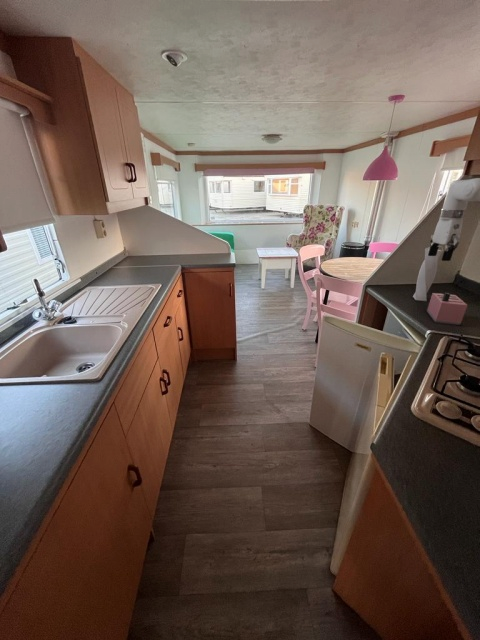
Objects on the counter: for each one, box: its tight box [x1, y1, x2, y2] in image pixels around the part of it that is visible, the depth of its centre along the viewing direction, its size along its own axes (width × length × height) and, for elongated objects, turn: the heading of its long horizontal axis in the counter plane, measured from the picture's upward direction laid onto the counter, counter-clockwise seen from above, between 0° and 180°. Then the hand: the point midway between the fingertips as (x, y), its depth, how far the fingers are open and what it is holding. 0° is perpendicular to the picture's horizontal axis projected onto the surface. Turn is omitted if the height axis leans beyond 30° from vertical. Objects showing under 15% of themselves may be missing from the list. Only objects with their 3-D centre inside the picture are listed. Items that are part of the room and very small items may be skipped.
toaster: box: [426, 292, 468, 326], centre depth 117 cm, size 9×13×9 cm
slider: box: [442, 292, 451, 301], centre depth 112 cm, size 2×2×3 cm
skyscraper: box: [412, 245, 444, 302], centre depth 134 cm, size 8×7×28 cm
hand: (438, 258), depth 113 cm, fingers open, 9 cm apart
